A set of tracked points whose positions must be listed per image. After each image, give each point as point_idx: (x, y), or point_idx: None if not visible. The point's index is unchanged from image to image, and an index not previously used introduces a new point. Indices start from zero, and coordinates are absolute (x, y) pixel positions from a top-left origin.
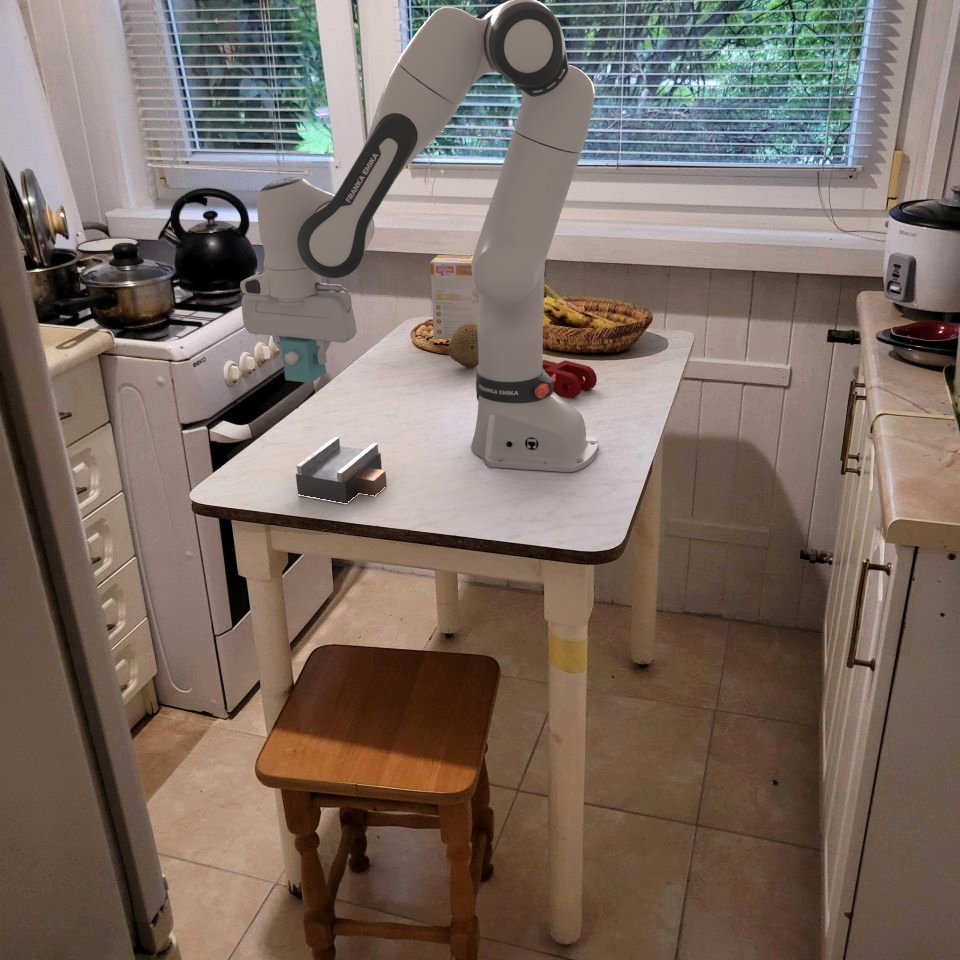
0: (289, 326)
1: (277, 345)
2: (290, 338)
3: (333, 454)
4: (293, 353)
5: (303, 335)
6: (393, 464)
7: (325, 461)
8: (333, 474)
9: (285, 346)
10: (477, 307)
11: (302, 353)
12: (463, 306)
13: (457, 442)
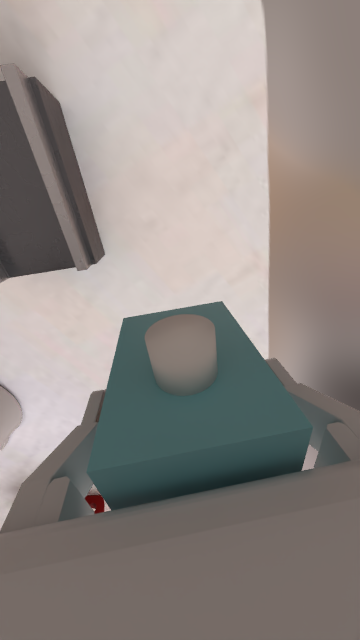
0: (296, 635)
1: (326, 402)
2: (260, 470)
3: (60, 228)
4: (164, 367)
5: (123, 543)
6: (38, 302)
7: (43, 188)
8: None
9: (254, 399)
10: None
11: (135, 395)
12: None
13: (31, 387)
